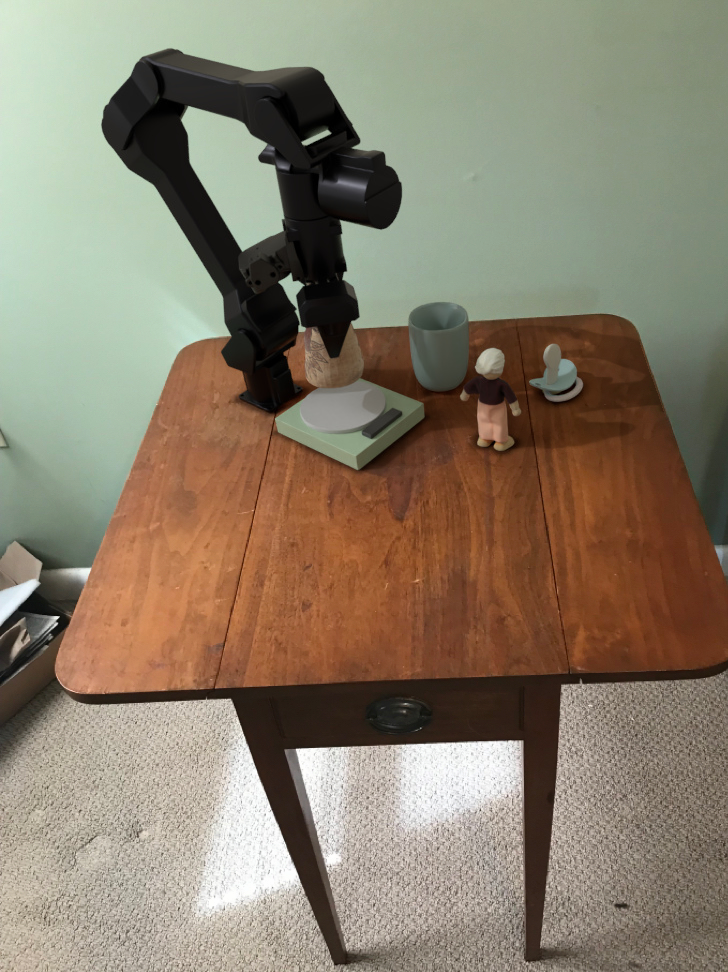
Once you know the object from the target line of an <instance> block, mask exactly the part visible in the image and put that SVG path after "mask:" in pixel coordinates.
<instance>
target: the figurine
mask: <svg viewBox="0 0 728 972" xmlns="http://www.w3.org/2000/svg"><path fill="white" fill-rule="evenodd" d="M327 281H328V282H329V280H327ZM315 283H316V284H318V282H317V281H316V282H315ZM303 342H304V356H305V357H304V373H305V376H304V377H305V378H306V380H307V382H308V383H309V384H310V385H312V386H314V387H316V388H340V387H344V386H348V385H350V384H353V383H354V382H356V381H357V380H358V379H359V378H362V376H363V373H364V368H365V363H364V357H363V353H362V350H361V346H360V342H359V339H358V336H357V334H356V331H355V328H354V325H353V323H352V322H351V324H350V326H349V329H348V332H347V334H346V338H345V341H344V344H343V347H342V350H341V353H340V355H339V357H338V358H330V357H329V355H328V353H327V350H326V348H325V346H324V343H323V341H322V338H321V336H320V334H319V331H318V329H317V327H311V328H305V329H304V332H303Z"/></svg>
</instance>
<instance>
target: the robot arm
mask: <svg viewBox="0 0 728 972" xmlns="http://www.w3.org/2000/svg"><path fill="white" fill-rule="evenodd" d="M189 107H190V108H193V109H196V110H200V111H204V112H208V113H212V114H214V115H219V116H222V117H226V118H230V119H232V120H237V121H238V122H240V123H242V124H244V126H245V127H246V130H247V131H248V133H249V134H250V135H251V136H252V137H253V138H255V139H258V140H259V141H261V142H263V143H265V144H266V145H265V147H264V148H263V150H262V151H261V152H260V153H259V154H258V155H257V159H258V162H259V163H261V164H266V165H271V166H274V169H275V174H276V175H275V176H276V181H277V186H278V191H279V197H280V203H281V209H282V214H283V218H282V219H281V224H282V229H283V230H281V231H280V232H278V233H275V234H273V235H270V236H267V237H266V238H264V239H262V240H260V241H258V242H257V243H255V244H253V245H251V246H249V247H247V248H246V249H244V250H242V248H241V247H240V245H239V243H238V241H237V240H236V237H234V235H233V234H232V232H231V230H230V228H229V226H228V225H227V223H226V221H225V219H224V218H223V216H222V215H221V213H220V212H219V211H220V210H219V209H218V208H217V206H216V205H215V203H214V201H213V200H212V198H211V196H210V195H209V193H208V191H207V190H206V188H205V186H204V184H203V182H202V181H201V179H200V178H199V176H198V175H197V173H196V172H195V169H194V167H193V166H192V164H191V162H190V160H191V159H190V144H189V143H190V141H189V134H188V131H187V129H186V127H185V124H184V123H183V121H182V120H183V118H184V116H185V113H186V112H187V110H188V108H189ZM353 125H354V124H353V122H352V121H351V120H350V119H349V117H348V116H347V114H346V112H345V111H344V109H343V107H342V105H341V104H340V102H339V101H338V99H337V97H336V95H335V94H334V92H333V91H332V88H331V87H330V85H329V84H328V83H327V81H326V78H325V74H324V73H322V72H321V71H320V70H319V69H317V68H315V67H312V66H293V67H292V66H288V67H286V66H285V67H280V68H275V69H266V70H252V69H249V68H245V67H244V68H243V67H241V66H236V65H232V64H227V63H223V62H220V61H215V60H213V59H212V60H211V59H207V58H204V57H200V56H196V55H191V54H187V53H184V52H183V51H182V50H180V49H175V48H173V47H169V48H168V47H167V48H164V49H162V50H159V51H155V52H153V53H149V54H146V55H143V56H141V57H140V58H139V60H138V61H136V63H135V64H134V66H133V68H132V71H131V73H130V76H128V78H127V79H126V80H125V81H124V82H123V84H122V85H121V86H120V87H119V88H118V89H117V90H116V91H115V92H114V94H112V95H111V97H110V99H109V102H108V103H107V104H105V105H104V107H103V110H102V118H101V123H100V126H101V132H102V135H103V137H104V140H105V141H106V143H107V144H108V145H109V146H110V148H112V150H113V151H114V153H115V154H116V155H117V156H118V158H119V159H120V161H121V162H122V163H123V165H125V167H126V168H127V170H129V171H131V172H132V173H133V174H135V175H136V176H138V177H140V178H141V179H143V180H144V181H146V182H148V183H149V184H151V185H153V187H154V188H155V190H157V193H158V195H159V196H160V197H161V199H162V201H163V202H164V204H165V205H166V207H167V209H168V210H169V212H170V213H171V215H172V217H173V219H174V220H175V222H176V223H177V225H178V226H179V228H180V229H181V231H182V234H184V236H185V238H186V239H187V241H188V242H189V244H190V246H191V247H192V250H193V251H194V253H195V254H196V255H197V258H198V259H199V260H200V262H201V264H202V265H203V267H204V269H205V270H206V272H207V273H208V275H209V276H210V278H211V280H212V281H213V283H214V285H215V286H216V288H217V289H218V291H219V293H220V294H221V296H222V303H223V304H222V305H223V322H224V324H225V327H226V329H227V330H228V333H229V335H230V338H229V339H228V341H227V342H226V344H225V345H224V347H223V348H222V349H221V350H220V354H221V356H222V357H223V359H224V362H225V364H226V365H227V366H228V367H229V368H232V369H234V370H236V371H239V372H242V376H243V380H244V384H245V388H246V390H244V391H243V392H241V393H240V394H238V398H239V400H240V401H241V402H245V403H247V404H249V405H251V406H252V407H255V408H258V409H260V410H262V411H264V412H266V413H268V414H269V413H274V412H275V411H276V410H278V409H279V408H281V407H283V406H284V405H285V404H286V403H288V402H290V401H291V400H292V399H294V398H296V397H298V395H300V394H302V393H303V391H304V389H303V387H302V386H301V385H298V384H296V383H294V380H293V379H294V378H293V375H292V370H291V368H290V366H289V360H288V356H287V355H285V352H287V351H288V350H290V349H291V348H294V347H295V346H296V345H297V339H298V336H299V331H300V330H299V328H300V326H301V327H302V328H305V329H306V328H311V327H317V329H318V331H319V334H320V336H321V338H322V341H323V343H324V346H325V348H326V350H327V353H328V355H329V357H330V358H338V357H339V355H340V353H341V350H342V347H343V344H344V341H345V338H346V334H347V332H348V329H349V326H350V324H351V323H352V322H356V321H357V320H358V319H359V318H360V317H361V316H360V308H359V301H358V296H357V293H356V290H355V287H354V285H352V284H350V283H349V282H348V281H346V280H345V279H344V276H345V275H344V274H345V273H347V272H348V267H347V261H346V257H345V254H344V247H343V237H342V235H343V227H342V223H341V221H342V222H346V223H349V224H354V225H358V226H362V227H367V228H372V229H375V230H380V231H382V230H385V229H388V228H390V226H391V225H392V224H394V222H395V220H396V219H397V217H398V214H399V212H400V209H401V205H402V199H403V184H402V181H400V178H399V175H398V173H397V171H396V170H395V169H394V168H393V167H392V166H390V165H388V164H387V158H386V153H385V152H384V151H381V150H376V149H372V150H365V149H359V148H355V147H357V146H359V145H360V144H361V138H360V136H359V134H358V132H357V131H356V129H355V127H354V126H353ZM326 131H328V132H329V134H327V135H325V136H323V137H321V138H319V139H316V140H315V141H313V142H310V143H308V144H303V142H304V141H307V140H309V139H311V138H314V137H315V136H317V135H320V134H322V133H324V132H326ZM290 275H291V279H292V282H299V283H300V284H301V285H302V286H301V288H300V289H299V290H298V292H297V293H296V294H295V299H296V305H297V307H296V306H295V305H294V303H292V301H291V300H290V297H289V296H288V294H287V292H286V290H285V288H284V286H283V285H282V284H281V283H280V282H282V281H283V280H285V279H287V277H288V278H289V276H290ZM327 280H329V282H328V281H327ZM316 281H317V282H318V284H316V283H315V282H316ZM296 311H298V313H297V312H296Z"/></svg>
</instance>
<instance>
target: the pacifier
mask: <svg viewBox="0 0 728 972" xmlns="http://www.w3.org/2000/svg"><path fill="white" fill-rule="evenodd" d="M543 351H544V352H543V362H544V365H545V366H546V368H545V369H544V371H543V377H539V378H538V377H537V378H533V379H530V380H529V381H528V382H529V385H530V386H532V387H534V388H537V389H539V390H542V393H543V394H544V395H543V396H544V397H545V399H546V400H548V401H550V402H553V403H559V402H560V403H561V402H565V401H569V400H571V399H573V398H575V397H576V396H577V395H579V394H580V393H581V391H582V390H583V387H584V383H583V380H582V378H580V377H578V376H577V375H578V370H577V367H576V365H575V364H574V362H573V361H571V360H570V359H567V358H562V351H561V348H560V346H559V344H557V343H551V344H549V345H548V346H546V348H545V349H544V350H543ZM574 384H575V386H574V388H573V389H572V390H571V391H568V392H567V393H565V394H560V393H561V392H562V391H565V390H566V391H567V390H568V389H569V388H571V387H572V386H573V385H574ZM557 394H559V395H557Z"/></svg>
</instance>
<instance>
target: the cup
mask: <svg viewBox="0 0 728 972" xmlns="http://www.w3.org/2000/svg"><path fill="white" fill-rule="evenodd" d="M407 328H408V341H409V350H410V356H411V357H410V358H411V364H412V370H413V372H414V376H415V378H416V380H417V382H418V383H419V385H420V386H421V387H423V388H424V389H426V390H428V391H430V392H437V393H438V392H439V393H443V392H448V391H451V390H454V389H457V388H458V387H459V386H460V385H461V384H462V383H463V382H464V380H465V378H466V375H467V374H468V373H467V372H468V367H469V358H470V319H469V314H468V311H467V309H466V308H464V307H463V306H462V305H460V304H459V303H455V302H449V301H434V302H428V303H425V304H421V305H418V306H416V307H415V308H413V309H412V311H410V313H409V315H408V319H407Z"/></svg>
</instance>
